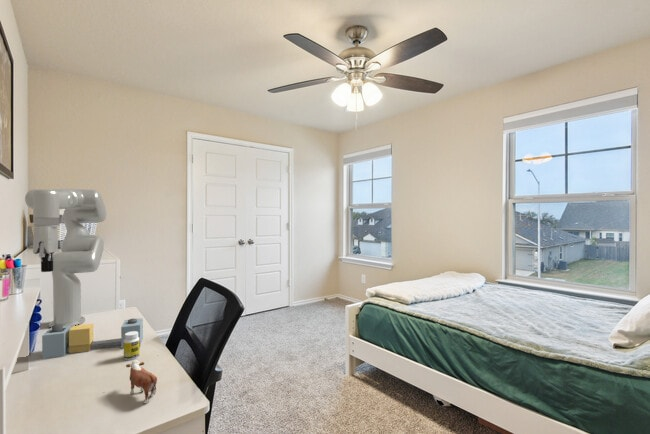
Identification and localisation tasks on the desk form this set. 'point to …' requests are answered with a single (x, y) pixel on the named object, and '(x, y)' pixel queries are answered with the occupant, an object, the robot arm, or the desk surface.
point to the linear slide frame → (59, 341)
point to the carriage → (80, 338)
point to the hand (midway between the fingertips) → (47, 271)
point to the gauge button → (57, 328)
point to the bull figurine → (142, 379)
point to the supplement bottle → (131, 345)
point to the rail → (103, 344)
